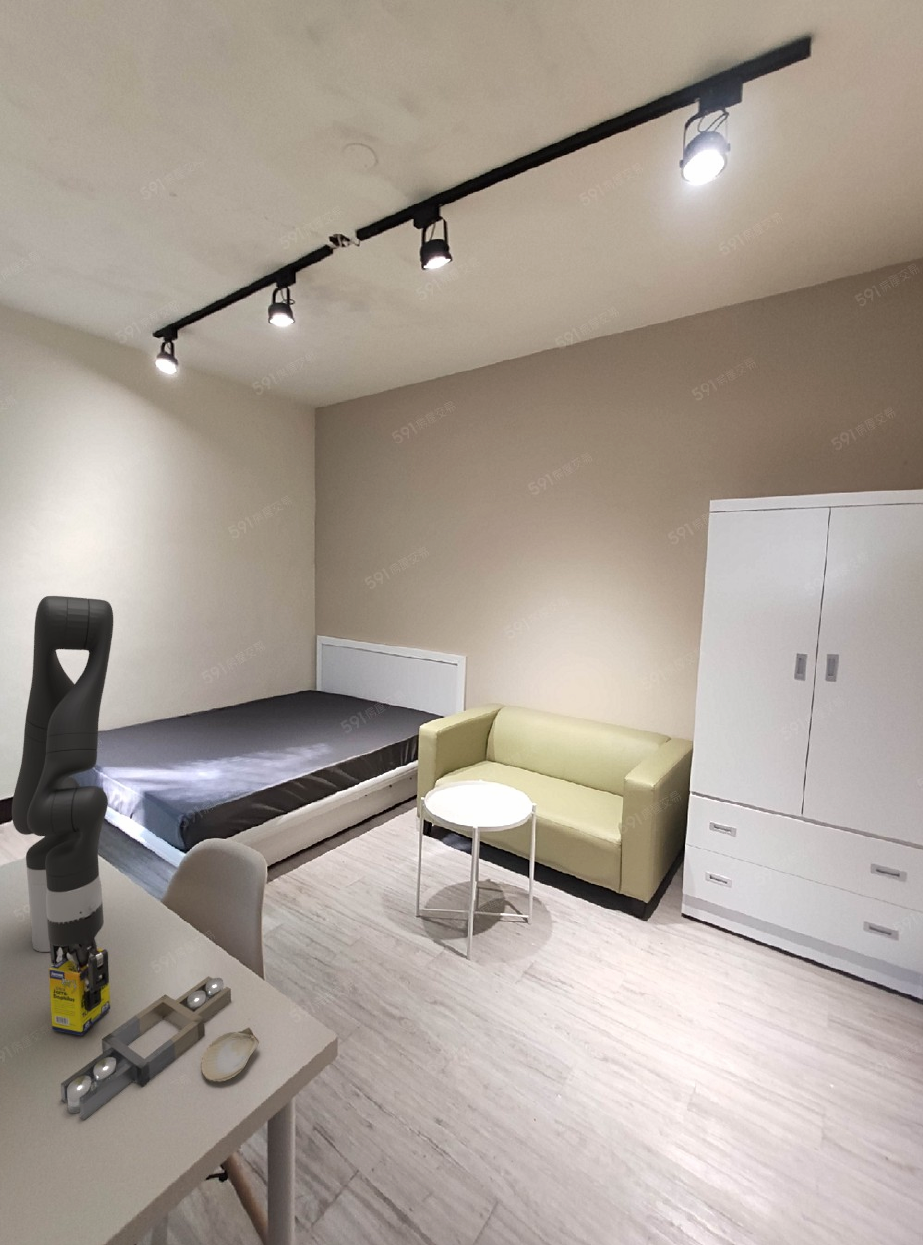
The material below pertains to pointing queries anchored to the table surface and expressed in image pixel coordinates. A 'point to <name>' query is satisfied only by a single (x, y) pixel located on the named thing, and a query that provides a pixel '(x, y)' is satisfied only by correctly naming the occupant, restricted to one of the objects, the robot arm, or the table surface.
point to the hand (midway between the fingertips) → (81, 997)
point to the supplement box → (73, 1000)
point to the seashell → (228, 1055)
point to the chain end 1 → (114, 1070)
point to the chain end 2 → (187, 1012)
